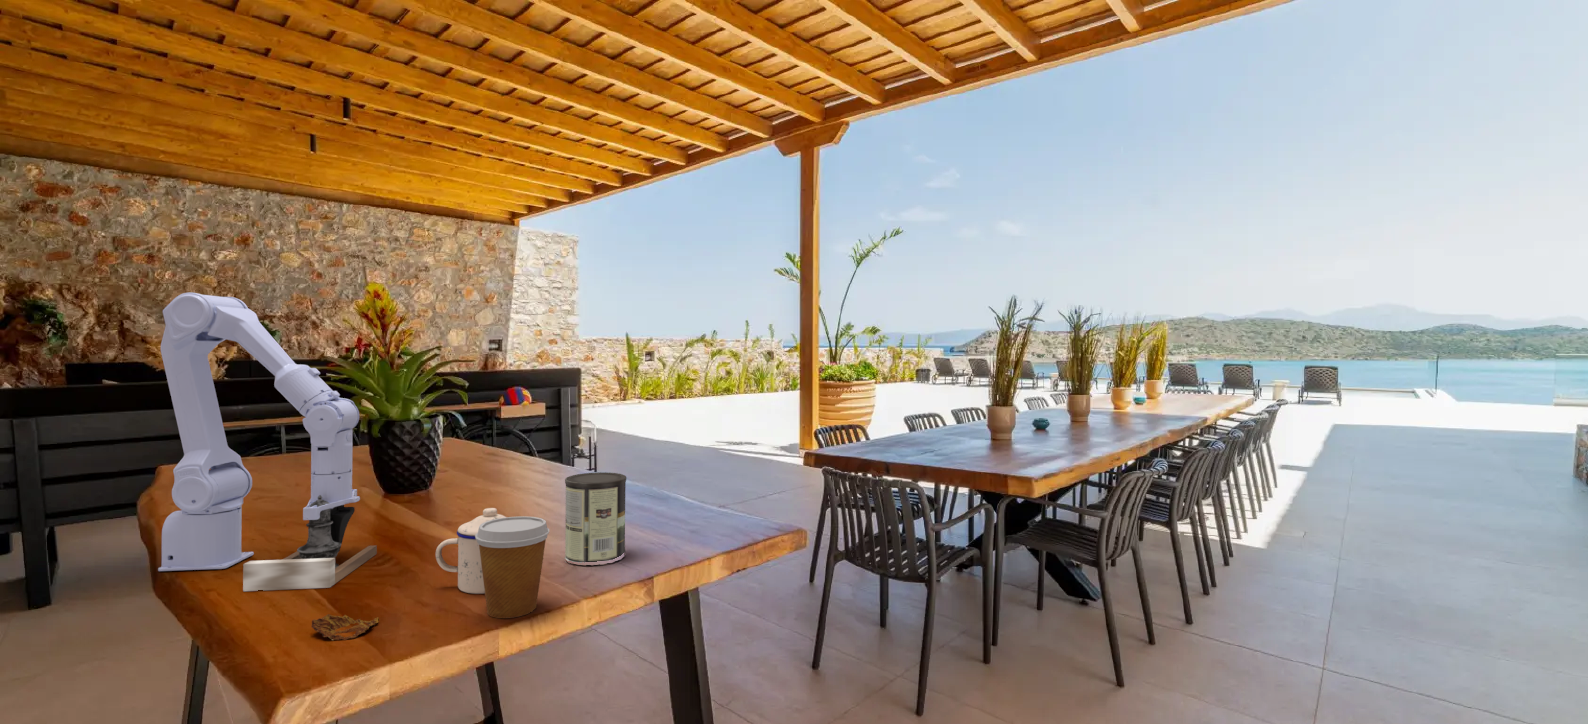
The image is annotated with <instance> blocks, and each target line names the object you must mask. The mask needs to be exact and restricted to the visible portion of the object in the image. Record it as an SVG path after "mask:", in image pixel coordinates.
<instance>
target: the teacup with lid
mask: <svg viewBox="0 0 1588 724" xmlns="http://www.w3.org/2000/svg"><path fill="white" fill-rule="evenodd" d="M506 517H507V516H505V515H503V514H499V513H498V510H497V508H496V507H487V508H484V509H483V510H482V515H479V516H477V517H475V518H473V519H472V520H470V521H468V522H465V523H463V524H461V525H459V527H458V529H457V531H456V535H457V536H458V538H457V537H456V538H454V537H453V538H448V539H445V540H443V541H441V543H440V544H438V546H437V547H436V550H435V559H436V562H437V564H438V565H439V567H440V568H441V569H442V570H444V571H446V572H451V573H457V588H458V589H459V591H461V592H463V593H466V594H467V593H468V594H473V595H479V594H480V595H481V594H483V595H485V589H484V581H483V573H482V565H481V557H480V549H479V544H478V543H477V540H476V539H475V535H476V534H477V533H478V529H479V526H480V525H481V524H482V523H484V522H487V521H490V520H494V519H499V518H506ZM449 545H457V546H458V547H457V550H458V552H457V557H458V558H457V560H458V561H457V566H456V565H450V564H448V563H447V562H446V561H445V560H444V558H443V555H442V553H443V552H442V550H443V548H444V547H445V546H449Z"/></svg>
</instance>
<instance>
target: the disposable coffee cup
mask: <svg viewBox="0 0 1588 724" xmlns="http://www.w3.org/2000/svg"><path fill="white" fill-rule="evenodd" d="M505 517H506V518H499V519H494V520H490V521H487V522H484V523H482V524H481V525H480V526H479V529H478V533H477V534H476V535H475V539H476V540H477V543H478V544H479V549H480V557H481V565H482V573H483V581H484V589H485V594H484V597H485V602H486V604H485V605H486V611H487V612H486V614H487V615H488V616H490V617H492V618H495V619H512V618H518V617H523V616H525V615H528V614H531V613H532V612H534V611H535V610H536V609H537V603H538V597H539V590H540V582H541V575H542V570H543V563H544V562H543V561H544V554H545V547H546V540H547V538H548V535H549V534H550V528H549V527H548V526H547V521H546V520H545V519H543V518H541V517H537V516H528V515H527V516H525V515H524V516H523V515H522V516H521V515H520V516H509V517H508V516H505ZM535 608H536V609H535ZM534 609H535V610H534ZM533 610H534V611H533ZM530 612H531V613H530Z"/></svg>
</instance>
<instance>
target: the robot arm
mask: <svg viewBox="0 0 1588 724" xmlns="http://www.w3.org/2000/svg"><path fill="white" fill-rule="evenodd" d="M162 315H163V319H164V324H165V327H164V332H163V335H162V338H161V343H160V354H161V358H162V361H163V367H164V371H165V375H166V379H167V380H166V381H167V385H168V389H169V394H170V396H171V402H172V407H173V410H174V416H175V419H176V424H177V428H178V433H179V437H180V440H181V441H180V442H181V446H182V450H183V456H182V458H181V459H180V461H179V462H178V463H177V464H176V465H175V467H174V468H173V470H172V471H173V476H174V477H173V478H174V481H173V482H174V483H173V484H172V485H173V486H172V489H171V497H172V501H173V503H174V504H175V506H176V507H177V508H179V509H180V510H175V511H173V512H171V513H170V514H169V515H168V516H167V517H165V520H164V523H163V524H162V529H161V566H159V567H158V568H157V571H158V572H172V571H174V572H175V571H193V570H194V571H196V570H197V571H199V570H200V571H201V570H222V569H223V570H224V569H228V568H229V567H231V566H234V565H235V564H237V563H240V562H241V561H243V560H245V559H248V558H249V557H252V556H253V555H254V554H255V553H254V551H242V522H243V521H242V520H243V519H242V511H243V510H242V507H243V504H244V498H245V497H246V496H247V495H248V494H250V491H251V489H252V487H253V477H252V475H251V473H250V472H249V471H248V469H247V468H246V467H245V466H244V464H243V461H242V457H241V455H240V454H238V453H237V452H236V451H234V450H233V449H231V448H230V447H229V445H228V442H227V441H228V440H227V437H226V432H225V428H224V424H223V423H224V422H223V418H222V414H221V410H220V407H219V406H220V405H219V401H218V397H217V392H216V388H215V384H214V383H215V382H214V379H213V374H212V371H211V366H210V365H211V364H210V361H209V357H208V356H209V354H210V353H211V352H212V351H213V350H214V349H215V348H216V347H217V346H218V345H219V344H220V343H222V342H224V341H226V340H228V341H232V342H236V343H237V344H239V345H240V346H241V347H242V348H243V349H244V350H245V351H246V352H248V353H249V354H250V355H251V356H252V357H253V358H254V359H256V361H258V362H259V364H261V365H262V366H263V367H265V369H266V370H268V371H269V372H270V373H271V374H272V375H273V376H274V384H273V385H274V386H273V387H274V388H275V389H276V390H277V391H278V392H279V393H280V394H281V395H282V396H283V397H284V398H285V400H287V402H289V403H290V404H291V405H292V406H293V407H294V408H295V409H296V411H298V412H299V414H300V415H302V416H303V417H304V418H302V424H303V427H304V428H305V430H306V432H308V434H309V436H310V444H311V445H310V452H311V453H310V456H311V457H310V458H311V461H310V499H309V500H308V503H307V505H306V506H305V507H303V508H302V520H303V521H309V520H317V519H319V518H320V512H321V511H322V510H326V509H330V520H331V521H333V523H332V524H331V537H332V540H333V541H334V542H339V543H341V546H340V547H339V552H340V551H341V548H342V544H343V539H344V536H345V532H346V529H347V526H348V524H349V522H350V520H351V518H352V516H353V515H354V513H355V509H356V508H355V506H345V505H347V504H353V503H357V502H360V500H361V497H360V496H358V489H355V488H354V489H353V446H354V445H353V432H354V430H353V429H354V428H355V427H357V425H358V423H359V420H360V411H359V408H358V406H356V404H355V402H354V401H353V400H351V399H349V398H345V397H344V398H343V397H340V396H341V394H340V393H339V392H338V390H333V389H332V388H331V387H330V386H329V385H328V384H327V383H326V382H325V381H324V380H323V379H322V378H321V377H320V376H319V375H321V372H320V371H319V370H318V369H317V368H316V367H310V366H309V365H308V364H297V363H296V362H295V361H294V360H293V359H292V358H291V357H290V356H289V355H288V353H287V352H286V350H284V349H283V347H281V345H280V344H279V343H278V342H277V341H276V340H275V338H274V337H273V336H272V335H271V334H270V332H269V331H268V330H267V328H265V326H264V325H262V323H261V322H260V321H259V320H260V319H259V317H258V315H257V313H256V312H255V311H253V310H251V309H250V308H248V306H247V304H246V303H245V302H244V301H243V300H241V299H239V298H236V297H234V296H218V295H210V294H201V293H199V292H198V293H196V292H189V291H188V292H183V293H181V294H179V295H177V296H176V297H174V298H173V299H172V300H171V301H170V303H168V304H167V305H166V306H165V307H164V309H162ZM319 495H321V496H322V498H321V499H322V500H324V501H327V502H329V504H325V505H322V506H319V507H317V505H314V506H312V507H310V505H311V504H312V503H313V502H315V501H317V500H318V496H319Z"/></svg>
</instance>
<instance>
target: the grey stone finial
mask: <svg viewBox="0 0 1588 724" xmlns="http://www.w3.org/2000/svg"><path fill="white" fill-rule="evenodd" d="M321 498H322V496H321V495H319V496H318V500H317V501H315V502H313V503H312V504H311V505H310V507H312V506H314V505H317V507H319V506H322V505H325V504H329V502H327V501H324V500H322V499H321ZM332 523H333V521H331V520H330V509H326V510H322V511H321V512H320V518H319V519H317V520H308V522H307V523H306V524H305V526H306V527H307V528H308V530H307V531H308V533H307V535H308V537H307V541H306V543H305V544H304V545H302V546H299V547H298V548H297V550H296V552H297V551H298V552H299V553H300V558H301V559H314V558H335V559H336V557H337V556H338V553H339V552H340V551H339V547H340V546H341V547H342V545H341V543H339V542H334V541H333V540H332V537H331V524H332ZM338 566H340V565H339V563H336V562H335V568H337V567H338Z"/></svg>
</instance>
